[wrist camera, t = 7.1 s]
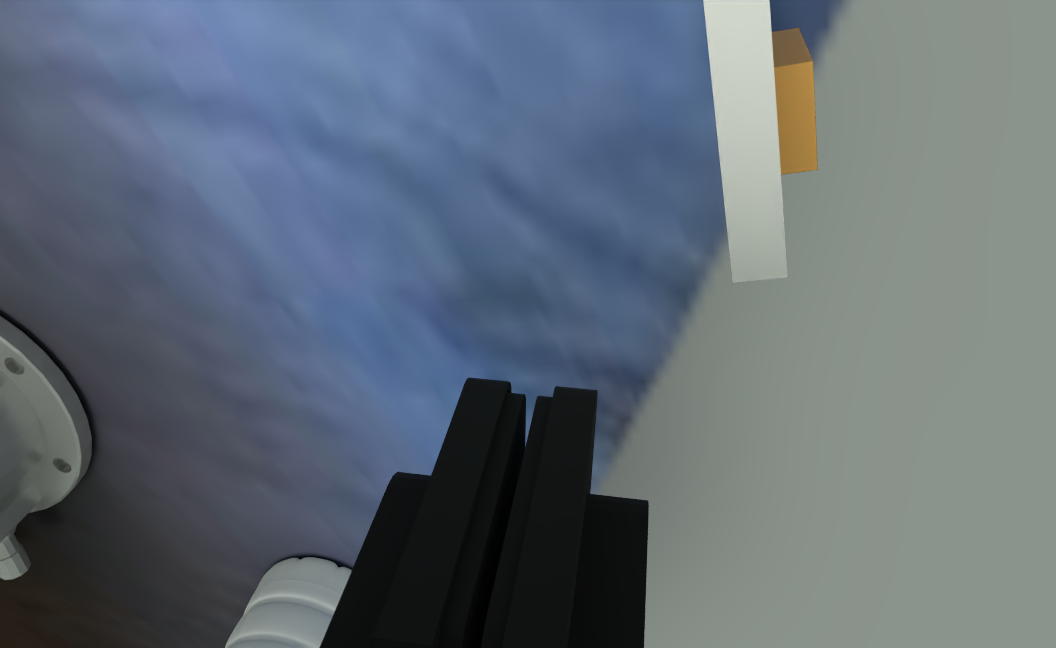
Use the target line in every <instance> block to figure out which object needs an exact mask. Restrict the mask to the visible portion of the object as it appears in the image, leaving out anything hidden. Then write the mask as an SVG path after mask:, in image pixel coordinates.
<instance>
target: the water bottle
mask: <svg viewBox="0 0 1056 648" xmlns="http://www.w3.org/2000/svg"><path fill="white" fill-rule="evenodd" d="M351 572H352V570H350V569H349V568H346V567H338V566H337V565H336V564H335V563H334V562H332V561H329V560H325V559H320V558H314V557H306V558H303V559H301V560H300V559H299V558H290V559H286V560H283V561H281V562H279V563H277V564H275V565H274V566H273V567H272V568H271V569H270V570H268V571H267V572H266V573H265V575H264V576H263V578H262V580H261V581H260V583H259V585H258V587H257V589H256V590H255V592H254V594H253V596H252V597H251V599H250V601H249V603H248V605H247V607H246V609H245V612H244V615H243V617H242V618H241V619H240V621H239V622H238V623H237V625H236V627H235V628H234V630H233V632H232V634H231V636H230V637H229V639H228V641H227V644H226V646H225V648H319V647H320V645H321V643H322V640H323V638H324V636H325V633H326V631H327V628H328V626H329V624H330V621H331V619H332V617H333V614H334V612H335V610H336V607H337V605H338V602H339V600H340V598H341V595H342V593H343V591H344V588H345V586H346V583H347V581H348V579H349V576H350V574H351Z"/></svg>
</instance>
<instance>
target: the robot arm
mask: <svg viewBox="0 0 1056 648" xmlns="http://www.w3.org/2000/svg"><path fill="white" fill-rule="evenodd" d="M597 394H598V391H597V390H588V389H578V388H568V387H558V386H556V387H555V389H554V394H553V397H545V396H538V397H537V400H536V404H535V408H534V413H533V417H532V421H531V426H530V430H529V434H528V439H527V443H526V447H525V427H526V396H525V394H515V393H511V383H510V382H508V381H498V380H488V379H478V378H468V379H467V380H466V382H465V384H464V387H463V390H462V392H461V395H460V398H459V401H458V403H457V406H456V409H455V412H454V414H453V417H452V420H451V423H450V425H449V428H448V431H447V434H446V437H445V439H444V442H443V445H442V448H441V450H440V453H439V456H438V459H437V461H436V464H435V467H434V470H433V472H432V475H431V476H428V475H420V474H411V473H402V472H397V473H396V474H394V475H393V477H392V479H391V480H390V482H389V484H388V486H387V489H386V491H385V493H384V496H383V498H382V501H381V503H380V505H379V508H378V510H377V512H376V515H375V517H374V520H373V522H372V524H371V527H370V529H369V531H368V534H367V536H366V538H365V541H364V543H363V546H362V548H361V550H360V553H359V555H358V557H357V560H356V562H355V565H354V567H353V569H352V572H351V574H350V576H349V579H348V581H347V583H346V586H345V588H344V591H343V593H342V595H341V598H340V600H339V602H338V605H337V607H336V610H335V612H334V614H333V617H332V619H331V621H330V624H329V626H328V628H327V631H326V633H325V636H324V638H323V640H322V643H321V645H320V647H319V648H644V629H645V627H644V626H645V599H646V598H645V597H646V569H647V540H648V507H649V505H648V501H647V500H638V499H629V498H621V497H612V496H603V495H595V494H590V489H591V476H592V463H593V449H594V436H595V422H596V409H597ZM91 456H92V437H91V432H90V428H89V424H88V419H87V416H86V414H85V412H84V409H83V407H82V405H81V403H80V400H79V398H78V396H77V394H76V392H75V391H74V389H73V388H72V386H71V385H70V383H69V382H68V380H67V378H66V377H65V375H64V374H63V372H62V371H61V370H60V369H59V368H58V367H57V366H56V364H55V363H54V362H53V361H52V360H51V359H50V357H49V356H48V355H47V354H46V353H45V352H44V351H43V350H42V349H41V348H40V347H39V346H38V345H37V344H36V343H34V342H33V341H32V340H31V339H30V338H29V337H28V336H27V335H26V334H25V333H23V332H22V331H21V330H19V329H18V328H17V327H15V326H14V325H12V324H11V323H10V322H8V321H7V320H5V319H4V318H3V317H1V316H0V578H2V579H4V580H10V579H15V578H17V577H19V576H21V575H23V574H24V573H25V572H26V571H27V570H28V569H29V567H30V565H31V562H30V559H29V557H28V556H27V554H26V552H25V550H24V548H23V546H22V545H21V543H20V542H19V541H17V539H16V537H15V535H14V532H15V530H16V526H17V524H18V523H19V522H20V521H21V520H22V519H23V518H24V517H25V516H26V515H27V514H28V513H31V512H35V511H40V510H44V509H47V508H49V507H51V506H53V505H55V504H57V503H58V502H60V501H62V500H63V499H64V498H65V497H66V496H67V495H68V494H69V493H70V492H71V491H72V490H73V489H74V488H75V487H76V485H77V484H78V483H79V482H80V480H81V479H82V478H83V476H84V475H85V473H86V472H87V469H88V466H89V463H90V459H91Z"/></svg>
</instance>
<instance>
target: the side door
mask: <svg viewBox="0 0 1056 648" xmlns="http://www.w3.org/2000/svg"><path fill="white" fill-rule="evenodd" d="M703 1H704V11H705V21H706V30H707V40H708V50H709V59H710V69H711V79H712V89H713V98H714V108H715V118H716V127H717V137H718V147H719V156H720V166H721V176H722V185H723V195H724V205H725V214H726V224H727V234H728V243H729V253H730V263H731V272H732V282H733V283H739V282H750V281H759V280H769V279H779V278H787V277H788V275H787V260H786V246H785V245H786V244H785V230H784V214H783V199H782V185H781V174H789V173H797V172H805V171H813V170H818V165H817V140H816V117H815V93H814V69H813V60H812V57H811V55H810V53H809V50H808V48H807V46H806V43H805V41H804V39H803V36H802V34H801V32H800V29H799V28H793V29H787V30H782V31H776V32H772V31H771V16H770V1H769V0H703Z"/></svg>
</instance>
